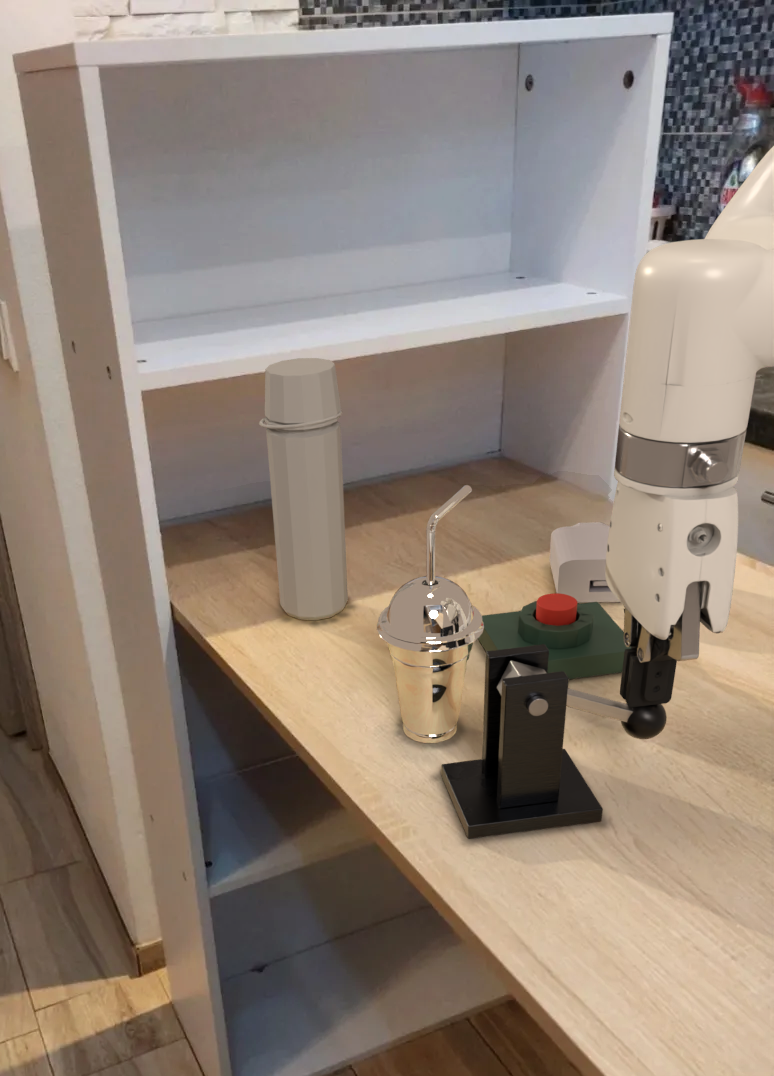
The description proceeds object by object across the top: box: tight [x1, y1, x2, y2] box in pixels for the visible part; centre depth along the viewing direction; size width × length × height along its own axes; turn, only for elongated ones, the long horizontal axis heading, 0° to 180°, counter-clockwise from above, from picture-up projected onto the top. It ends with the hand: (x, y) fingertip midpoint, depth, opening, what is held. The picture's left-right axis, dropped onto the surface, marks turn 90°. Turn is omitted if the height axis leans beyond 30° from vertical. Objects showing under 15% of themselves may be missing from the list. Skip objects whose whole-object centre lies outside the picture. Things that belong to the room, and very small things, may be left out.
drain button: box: [536, 592, 578, 626], centre depth 94 cm, size 4×4×2 cm
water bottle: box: [258, 357, 349, 621], centre depth 103 cm, size 9×8×25 cm
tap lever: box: [497, 660, 667, 740], centre depth 74 cm, size 13×3×3 cm, turn 96°
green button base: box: [477, 600, 631, 680], centre depth 96 cm, size 12×10×4 cm
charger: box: [548, 521, 621, 603], centre depth 110 cm, size 5×9×15 cm
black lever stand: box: [440, 644, 604, 840], centre depth 75 cm, size 10×8×12 cm
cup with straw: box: [376, 484, 484, 744], centre depth 82 cm, size 8×9×20 cm
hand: (644, 699), depth 75 cm, fingers closed
